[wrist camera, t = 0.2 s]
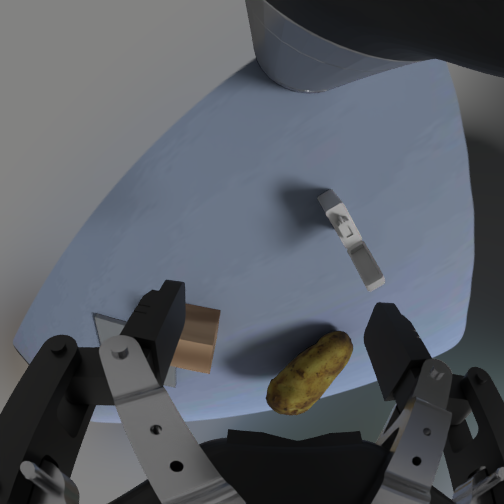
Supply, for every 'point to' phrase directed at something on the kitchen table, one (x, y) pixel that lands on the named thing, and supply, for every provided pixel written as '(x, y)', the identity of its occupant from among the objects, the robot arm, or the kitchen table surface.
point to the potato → (309, 374)
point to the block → (197, 339)
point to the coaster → (113, 328)
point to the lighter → (352, 240)
